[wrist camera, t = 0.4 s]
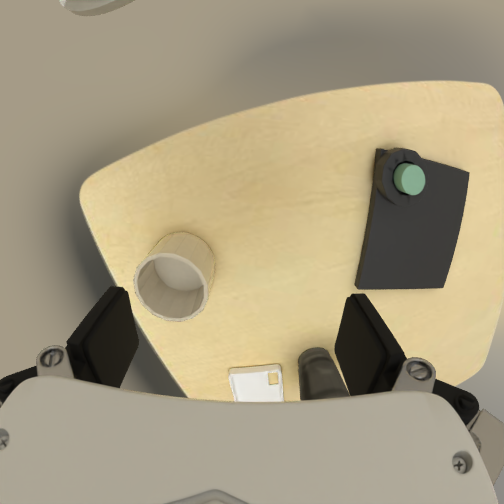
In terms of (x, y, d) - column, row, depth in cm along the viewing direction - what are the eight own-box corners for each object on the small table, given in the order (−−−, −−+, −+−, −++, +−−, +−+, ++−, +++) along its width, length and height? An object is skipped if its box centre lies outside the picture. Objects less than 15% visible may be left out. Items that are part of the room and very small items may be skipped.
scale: (372, 143, 25) (385, 144, 22) (464, 167, 26) (479, 171, 23) (351, 284, 31) (359, 297, 28) (438, 284, 32) (450, 294, 29)
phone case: (227, 367, 36) (242, 422, 41) (227, 374, 35) (242, 428, 40) (280, 363, 36) (284, 418, 41) (281, 370, 34) (285, 424, 40)
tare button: (394, 160, 23) (403, 162, 22) (417, 165, 23) (426, 167, 22) (391, 189, 24) (399, 193, 23) (414, 193, 24) (423, 197, 23)
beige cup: (150, 231, 28) (129, 251, 23) (215, 233, 29) (207, 255, 23) (155, 289, 31) (139, 317, 26) (215, 293, 31) (209, 324, 26)
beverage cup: (319, 330, 34) (362, 470, 15) (348, 356, 36) (392, 476, 17) (277, 361, 35) (292, 496, 17) (309, 382, 37) (333, 500, 19)
